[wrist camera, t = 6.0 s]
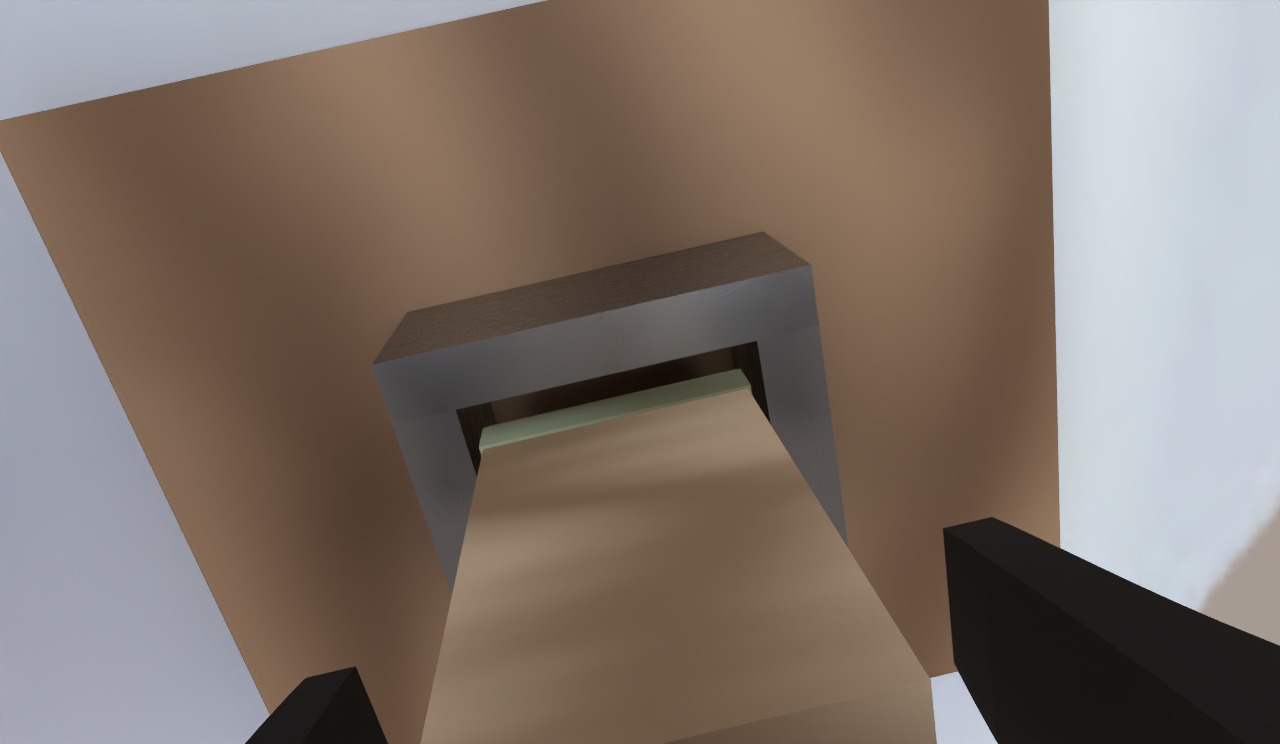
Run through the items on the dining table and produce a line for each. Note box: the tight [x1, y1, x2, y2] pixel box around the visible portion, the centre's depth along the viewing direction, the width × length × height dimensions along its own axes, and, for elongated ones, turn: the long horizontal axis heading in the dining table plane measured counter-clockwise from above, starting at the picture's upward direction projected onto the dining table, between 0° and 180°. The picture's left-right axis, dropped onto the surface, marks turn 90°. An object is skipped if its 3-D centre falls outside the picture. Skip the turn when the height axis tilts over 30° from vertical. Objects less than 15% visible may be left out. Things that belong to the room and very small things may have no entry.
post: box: [421, 369, 937, 744], centre depth 10 cm, size 4×4×7 cm
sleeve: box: [372, 231, 849, 594], centre depth 15 cm, size 7×7×3 cm
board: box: [0, 0, 1060, 744], centre depth 16 cm, size 18×16×1 cm
